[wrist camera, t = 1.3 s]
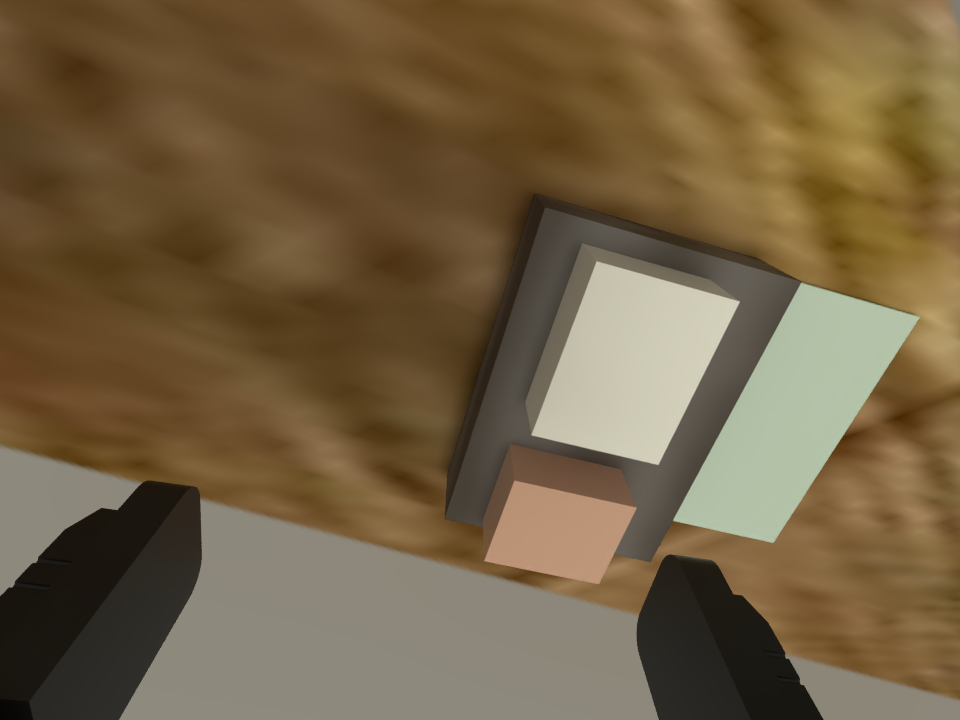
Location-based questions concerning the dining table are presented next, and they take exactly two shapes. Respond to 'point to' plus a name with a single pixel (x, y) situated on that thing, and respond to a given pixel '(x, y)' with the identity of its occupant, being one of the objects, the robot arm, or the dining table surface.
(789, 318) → the mat
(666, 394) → the cream tile
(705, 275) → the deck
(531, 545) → the salmon pink block
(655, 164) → the dining table surface
